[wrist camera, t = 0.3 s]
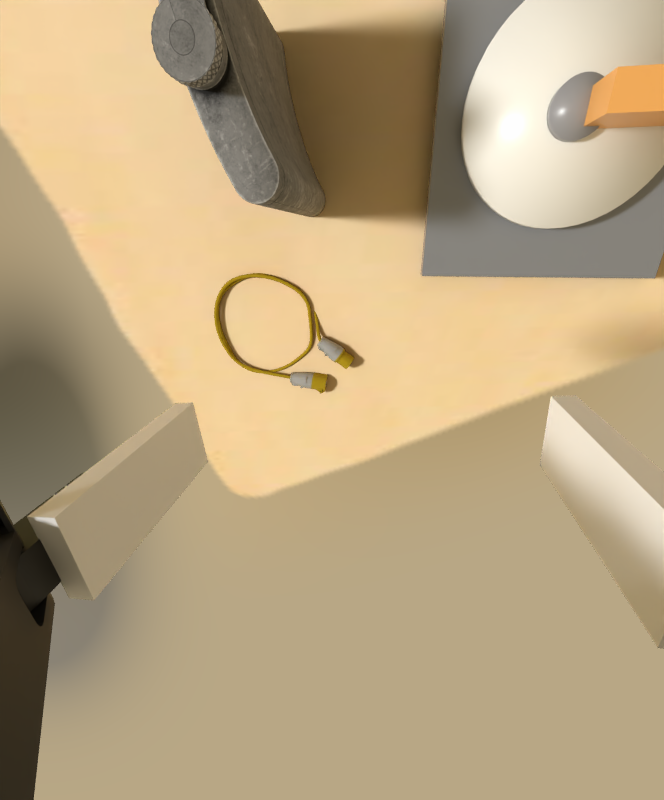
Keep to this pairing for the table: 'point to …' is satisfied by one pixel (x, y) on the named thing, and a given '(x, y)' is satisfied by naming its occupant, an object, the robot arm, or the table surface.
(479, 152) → the dial
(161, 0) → the flask
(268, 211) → the table surface
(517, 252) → the dial housing
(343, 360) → the extension cord
